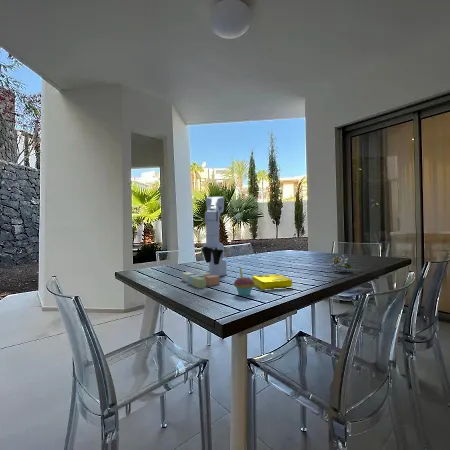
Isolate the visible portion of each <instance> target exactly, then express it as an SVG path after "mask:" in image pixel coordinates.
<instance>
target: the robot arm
mask: <svg viewBox="0 0 450 450" xmlns="http://www.w3.org/2000/svg"><path fill="white" fill-rule="evenodd" d="M205 206H206V211H205V212H204V222H205V242H204V243H203V244H202V247H203V248H201V251H202V254H203V255H204V256H203V257H204V260H205V263H206V264H207V263H208V272H210V276H212V275H217V276H219V277H222V276H228V274H227V272H228V271H227V261H226V260H225V259H224V258H225V246H224V244H223V243H222V242H220V216H221V213H224V210H225V197H224V196H206V200H205Z"/></svg>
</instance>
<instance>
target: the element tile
mask: <svg viewBox="0 0 450 450" xmlns="http://www.w3.org/2000/svg"><path fill="white" fill-rule="evenodd" d="M251 279H252V280H253V281H254V284H255V286H254V287H256V286H257V287H259V288H260V289H259V288H258V289H259V290H261V289H274V288H283V287H291V286H292V287H293V280H292V279H291V278H290V277H287V276H284V275H281V274H280V273H276V274H275V273H274V274H272V273H271V274H257V275H252V278H251ZM257 287H256V288H257Z"/></svg>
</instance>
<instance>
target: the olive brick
mask: <svg viewBox="0 0 450 450" xmlns="http://www.w3.org/2000/svg"><path fill="white" fill-rule="evenodd" d="M192 280H193V285H192V287H195V288H196V289H203V288H206V287H207V285H206V279H205V278H203V277H202V278H201V277H195V278H192Z"/></svg>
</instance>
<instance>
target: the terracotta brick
mask: <svg viewBox="0 0 450 450" xmlns="http://www.w3.org/2000/svg"><path fill="white" fill-rule="evenodd" d="M205 279H206V286H210V287H211V286H215V285H220V284H221V283H220V279H221V278H220V276H217V275H212V276H205Z"/></svg>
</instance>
